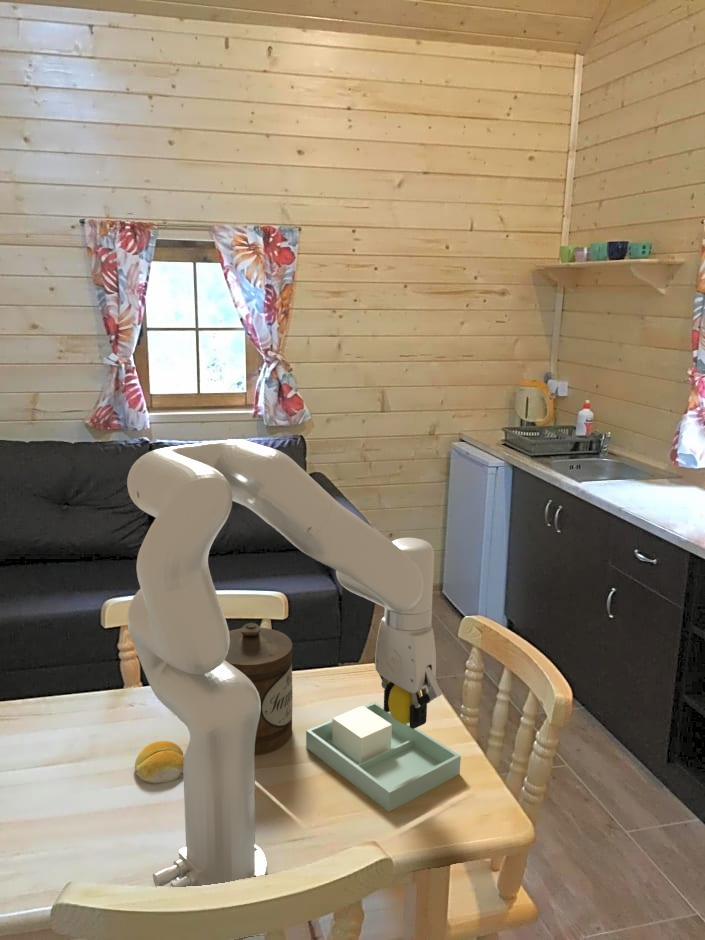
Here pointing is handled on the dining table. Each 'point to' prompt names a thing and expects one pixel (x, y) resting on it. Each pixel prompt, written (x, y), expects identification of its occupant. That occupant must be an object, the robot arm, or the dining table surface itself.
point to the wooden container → (266, 680)
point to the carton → (361, 734)
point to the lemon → (400, 704)
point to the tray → (390, 762)
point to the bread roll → (159, 762)
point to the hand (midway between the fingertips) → (404, 716)
